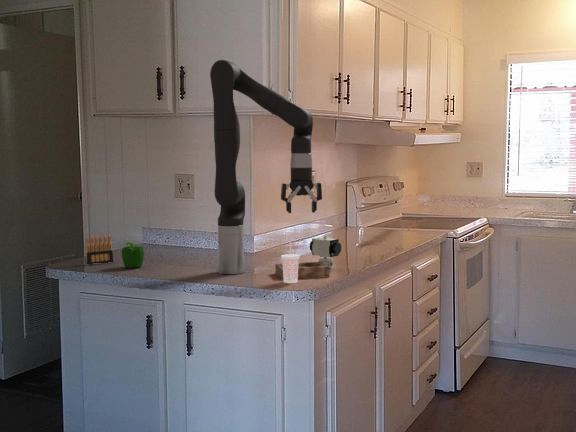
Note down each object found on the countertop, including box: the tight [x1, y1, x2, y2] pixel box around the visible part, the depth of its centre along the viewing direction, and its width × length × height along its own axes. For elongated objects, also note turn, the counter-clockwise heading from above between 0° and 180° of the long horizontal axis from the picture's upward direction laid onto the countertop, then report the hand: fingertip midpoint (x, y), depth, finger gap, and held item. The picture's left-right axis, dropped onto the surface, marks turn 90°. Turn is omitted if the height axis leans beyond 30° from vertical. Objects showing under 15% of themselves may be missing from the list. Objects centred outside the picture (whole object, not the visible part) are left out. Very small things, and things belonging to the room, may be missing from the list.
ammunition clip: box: [85, 232, 114, 264], centre depth 275 cm, size 11×2×12 cm, turn 125°
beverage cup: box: [280, 240, 300, 284], centre depth 235 cm, size 6×6×14 cm
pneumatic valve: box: [309, 235, 342, 269], centre depth 261 cm, size 6×12×12 cm, turn 51°
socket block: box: [274, 261, 330, 280], centre depth 247 cm, size 17×11×4 cm, turn 102°
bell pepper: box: [121, 241, 145, 269], centre depth 266 cm, size 8×8×10 cm
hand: (301, 212), depth 245 cm, fingers open, 8 cm apart
